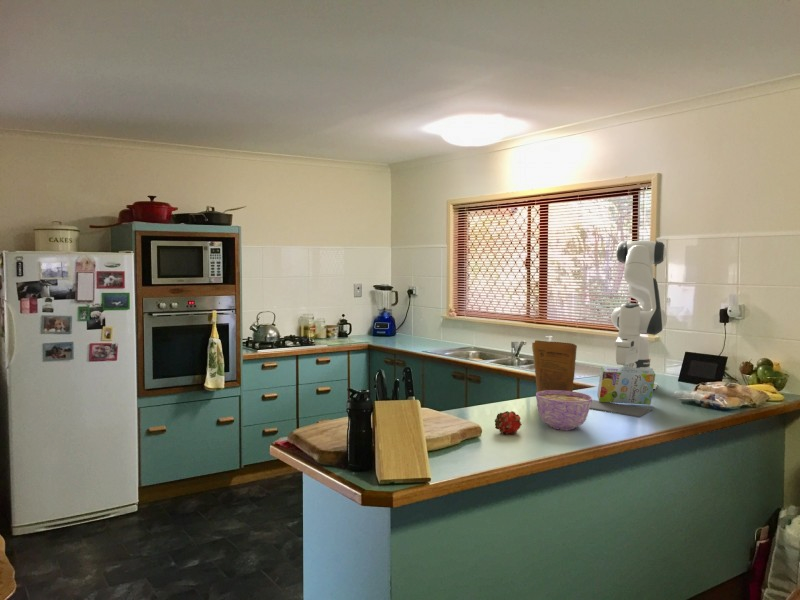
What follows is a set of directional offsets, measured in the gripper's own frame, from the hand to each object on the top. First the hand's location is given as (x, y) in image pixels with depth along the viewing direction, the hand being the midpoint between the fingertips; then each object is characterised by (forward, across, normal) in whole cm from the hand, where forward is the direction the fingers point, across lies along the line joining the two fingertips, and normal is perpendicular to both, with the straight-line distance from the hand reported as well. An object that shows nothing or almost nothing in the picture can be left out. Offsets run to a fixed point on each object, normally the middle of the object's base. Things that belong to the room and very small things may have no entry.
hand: (627, 373), depth 284 cm
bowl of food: (+14, +57, -5) cm, 59 cm away
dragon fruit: (+15, +78, -17) cm, 81 cm away
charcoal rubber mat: (+13, +13, -1) cm, 19 cm away
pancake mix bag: (+14, +33, -19) cm, 40 cm away
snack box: (+12, +1, -1) cm, 12 cm away
